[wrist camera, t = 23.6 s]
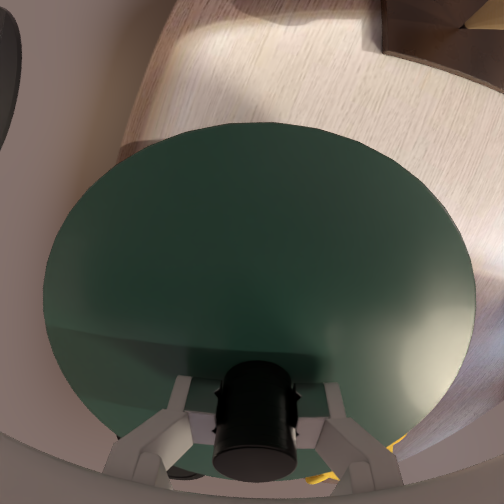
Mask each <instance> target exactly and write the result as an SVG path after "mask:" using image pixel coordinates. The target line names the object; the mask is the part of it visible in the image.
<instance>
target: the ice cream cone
mask: <svg viewBox="0 0 504 504" xmlns="http://www.w3.org/2000/svg"><path fill="white" fill-rule="evenodd" d="M459 29H498V30H504V0H488V1H487V2H486V3H485V4H484V5H483V6H482V7H481V8H480V9H479V10H478V11H477V12H476V13H475V14H474V15H473V16H472V17H470V18H469V19H468V20H467V21H466V22H465V23H464V24H463V25H462V26H461V27H460V28H459Z"/></svg>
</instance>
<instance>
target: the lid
mask: <svg viewBox="0 0 504 504" xmlns="http://www.w3.org/2000/svg"><path fill="white" fill-rule="evenodd" d="M43 312H44V318H45V325H46V330H47V335H48V338H49V341H50V344H51V348H52V351H53V354H54V356H55V358H56V360H57V363H58V365H59V367H60V369H61V371H62V373H63V374H64V376H65V378H66V380H67V381H68V383H69V384H70V386H71V388H72V389H73V391H74V392H75V393H76V394H77V396H78V397H79V398H80V400H81V401H82V402H83V403H84V405H85V406H86V407H87V408H88V409H89V410H90V411H91V412H92V413H93V414H94V415H95V416H96V417H97V418H98V419H99V420H100V421H101V422H102V423H103V424H104V425H105V426H107V427H108V428H109V429H110V430H111V431H113V432H114V433H115V434H116V435H118V436H119V437H121V438H122V437H124V436H125V435H127V434H128V433H130V432H131V431H132V430H134V429H135V428H137V427H138V426H140V425H141V424H142V423H144V422H145V421H147V420H148V419H149V418H151V417H152V416H153V415H155V414H156V413H158V412H159V411H160V410H162V409H167V406H168V403H169V400H170V397H171V393H172V390H173V387H174V384H175V381H176V378H177V376H178V375H183V376H191V377H200V378H209V379H218V380H222V395H221V401H220V408H219V415H218V421H217V428H216V435H215V442H214V445H207V444H196V443H193V445H192V446H191V447H190V448H189V449H188V450H187V451H186V452H185V453H184V454H183V455H182V456H181V457H180V458H179V459H178V460H177V461H176V462H175V463H174V464H173V466H176V467H179V468H182V469H185V470H188V471H191V472H195V473H199V474H203V475H207V476H211V477H217V478H223V479H230V480H238V481H243V482H253V483H259V482H270V481H283V480H293V479H300V478H306V477H311V476H316V475H320V474H324V473H328V472H332V470H331V469H330V468H329V466H328V465H327V464H326V463H325V462H324V460H323V459H322V458H321V457H320V455H319V454H318V453H317V452H316V450H315V449H297V446H296V431H295V419H294V405H293V393H292V388H293V384H294V383H330V382H337V383H338V384H339V387H340V392H341V396H342V400H343V404H344V408H345V413H346V417H351V418H352V419H353V420H354V421H355V422H357V423H358V424H359V425H360V426H361V427H362V428H364V429H365V430H366V431H367V432H368V433H369V434H370V435H372V436H373V437H374V438H375V439H376V440H377V441H379V442H380V443H381V444H382V445H383V446H385V447H388V446H389V445H391V444H392V443H394V442H395V441H397V440H398V439H400V438H401V437H403V436H404V435H405V434H407V433H408V432H409V431H410V430H411V429H413V428H414V427H415V426H416V425H417V424H419V423H420V422H421V421H422V420H423V419H424V418H425V417H426V416H427V415H428V414H429V413H430V412H431V411H432V409H433V408H434V407H435V406H436V405H437V404H438V402H439V401H440V400H441V398H442V397H443V396H444V395H445V393H446V392H447V390H448V389H449V387H450V386H451V384H452V382H453V381H454V379H455V377H456V376H457V374H458V372H459V370H460V368H461V365H462V363H463V361H464V359H465V356H466V354H467V351H468V348H469V344H470V341H471V337H472V334H473V329H474V321H475V314H476V286H475V279H474V274H473V269H472V264H471V259H470V257H469V254H468V251H467V249H466V246H465V243H464V241H463V238H462V236H461V233H460V231H459V230H458V228H457V226H456V225H455V223H454V221H453V220H452V218H451V217H450V215H449V213H448V212H447V210H446V209H445V207H444V206H443V205H442V204H441V202H440V201H439V200H438V199H437V198H436V197H435V196H434V195H433V193H432V192H431V191H430V190H429V189H428V188H427V187H426V186H425V185H424V184H423V183H422V182H421V181H420V180H419V179H418V178H416V177H415V176H414V175H413V174H411V173H410V172H409V171H407V170H406V169H405V168H403V167H402V166H401V165H400V164H398V163H397V162H396V161H394V160H393V159H391V158H389V157H387V156H385V155H383V154H382V153H380V152H378V151H376V150H374V149H372V148H370V147H368V146H366V145H364V144H362V143H360V142H358V141H355V140H352V139H349V138H346V137H343V136H340V135H337V134H334V133H331V132H328V131H324V130H321V129H317V128H311V127H305V126H298V125H291V124H283V123H276V122H257V123H229V124H223V125H218V126H212V127H207V128H202V129H197V130H192V131H187V132H184V133H181V134H179V135H176V136H173V137H171V138H168V139H165V140H163V141H160V142H157V143H155V144H152V145H150V146H147V147H146V148H144V149H142V150H140V151H139V152H137V153H135V154H134V155H132V156H130V157H129V158H127V159H125V160H124V161H122V162H120V163H119V164H117V165H115V166H114V167H113V168H112V169H111V170H109V171H108V172H107V173H106V174H105V175H103V176H102V177H101V178H100V179H99V180H98V181H97V182H95V183H94V184H93V185H92V186H91V187H90V188H89V189H88V190H87V191H86V192H85V194H84V195H83V196H82V198H81V199H80V200H79V201H78V202H77V203H76V205H75V206H74V207H73V208H72V210H71V211H70V212H69V214H68V216H67V218H66V219H65V221H64V223H63V225H62V227H61V228H60V230H59V232H58V234H57V236H56V238H55V241H54V244H53V246H52V249H51V252H50V255H49V258H48V262H47V266H46V272H45V278H44V285H43Z"/></svg>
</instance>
